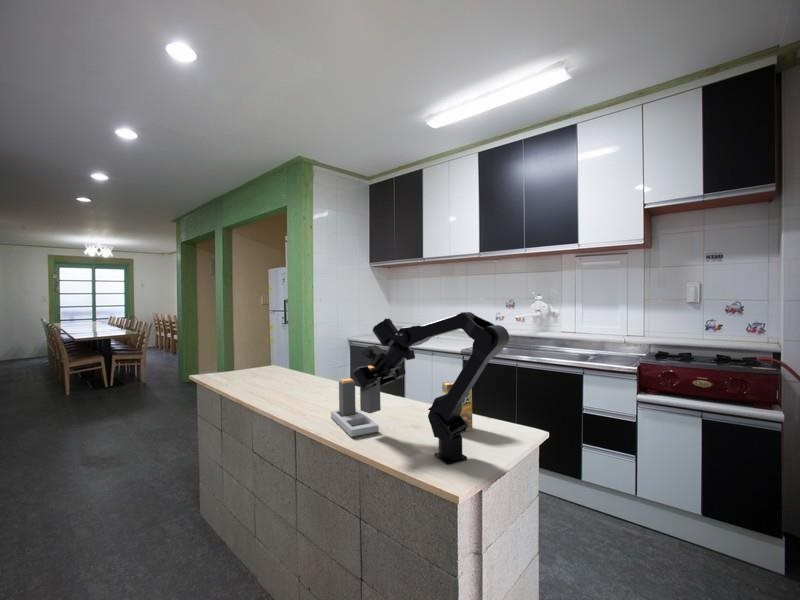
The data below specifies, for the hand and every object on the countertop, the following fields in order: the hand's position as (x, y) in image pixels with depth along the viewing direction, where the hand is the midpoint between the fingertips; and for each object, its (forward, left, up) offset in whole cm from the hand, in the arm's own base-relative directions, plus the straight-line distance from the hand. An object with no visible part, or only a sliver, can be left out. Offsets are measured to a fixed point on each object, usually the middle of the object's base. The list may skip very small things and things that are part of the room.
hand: (367, 389), depth 115 cm
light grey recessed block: (+9, +2, -14) cm, 17 cm away
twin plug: (+15, +2, -14) cm, 21 cm away
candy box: (-12, -26, -14) cm, 32 cm away
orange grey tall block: (-1, -1, -7) cm, 7 cm away
